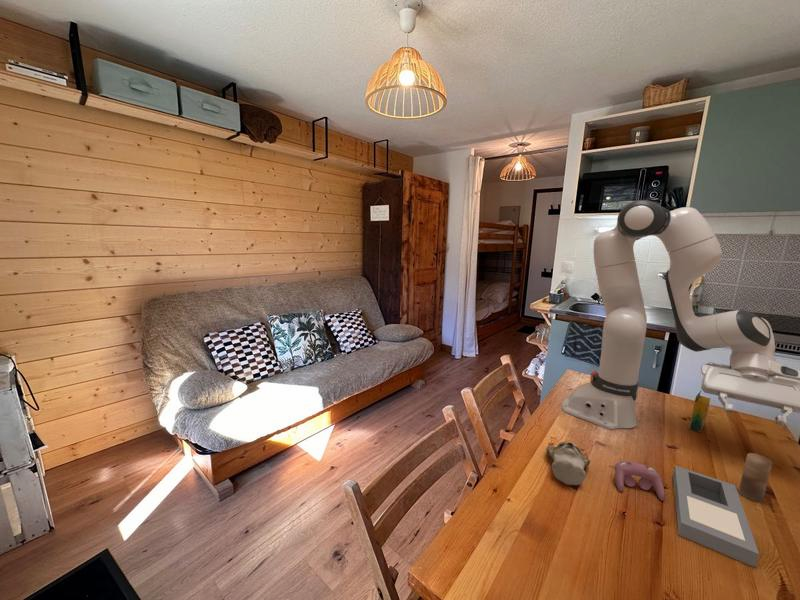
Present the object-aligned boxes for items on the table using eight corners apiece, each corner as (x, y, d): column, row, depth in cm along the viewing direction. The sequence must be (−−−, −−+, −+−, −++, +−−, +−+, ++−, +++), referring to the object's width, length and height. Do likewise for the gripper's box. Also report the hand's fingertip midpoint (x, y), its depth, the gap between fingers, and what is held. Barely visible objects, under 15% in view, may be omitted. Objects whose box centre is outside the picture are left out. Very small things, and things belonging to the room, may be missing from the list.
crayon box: (700, 433, 104) (707, 399, 102) (688, 429, 106) (695, 395, 104) (705, 425, 109) (711, 392, 107) (693, 421, 111) (699, 389, 109)
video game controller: (658, 497, 79) (657, 466, 81) (667, 502, 75) (666, 469, 77) (611, 487, 82) (611, 457, 84) (617, 491, 78) (617, 459, 80)
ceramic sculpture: (546, 450, 80) (548, 423, 93) (542, 482, 81) (545, 452, 94) (597, 464, 75) (591, 434, 88) (592, 499, 76) (587, 464, 90)
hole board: (678, 535, 67) (681, 521, 67) (673, 475, 84) (675, 464, 84) (755, 567, 61) (759, 553, 60) (732, 496, 78) (735, 484, 77)
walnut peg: (740, 496, 78) (749, 459, 76) (737, 487, 81) (745, 450, 79) (764, 505, 75) (774, 466, 74) (760, 494, 79) (769, 457, 77)
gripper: (704, 355, 94) (702, 400, 88) (814, 374, 82) (820, 426, 76) (699, 366, 98) (697, 408, 92) (803, 384, 86) (808, 435, 80)
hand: (753, 417), depth 84 cm, fingers open, 8 cm apart
